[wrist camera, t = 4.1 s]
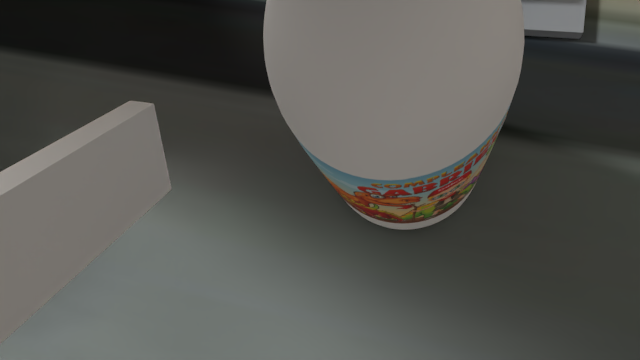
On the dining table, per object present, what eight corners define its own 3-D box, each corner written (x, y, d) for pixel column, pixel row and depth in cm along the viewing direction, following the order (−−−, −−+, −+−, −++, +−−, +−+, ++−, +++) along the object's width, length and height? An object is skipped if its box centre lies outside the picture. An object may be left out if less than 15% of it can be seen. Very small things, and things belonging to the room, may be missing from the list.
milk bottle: (306, 162, 26) (-18, -212, 7) (404, 69, 26) (354, -556, 7) (403, 262, 23) (318, 115, 4) (511, 159, 23) (898, -435, 4)
